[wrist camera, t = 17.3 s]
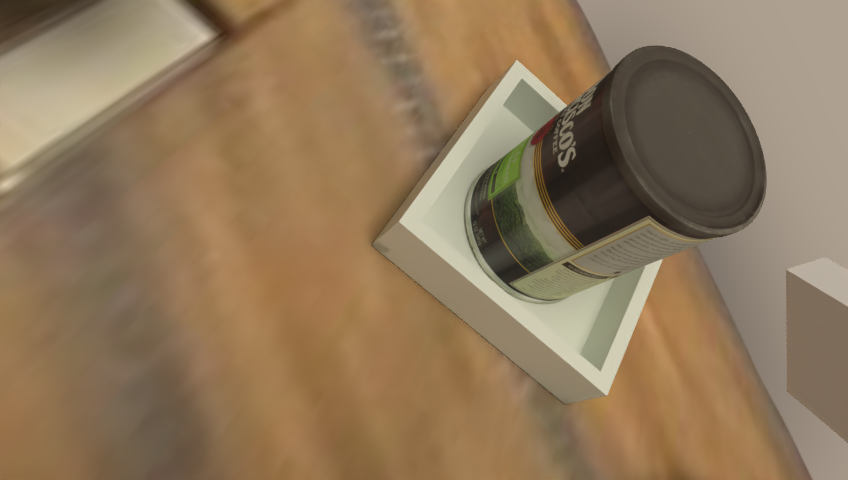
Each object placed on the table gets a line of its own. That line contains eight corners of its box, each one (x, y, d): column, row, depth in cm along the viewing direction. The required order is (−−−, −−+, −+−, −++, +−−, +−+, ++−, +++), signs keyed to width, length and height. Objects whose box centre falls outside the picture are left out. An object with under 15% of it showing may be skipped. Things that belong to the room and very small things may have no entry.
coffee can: (436, 241, 41) (583, 136, 29) (501, 133, 47) (647, 8, 35) (560, 338, 43) (746, 276, 31) (609, 223, 48) (783, 133, 37)
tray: (371, 245, 40) (398, 221, 37) (486, 90, 49) (516, 59, 45) (564, 404, 43) (607, 395, 39) (642, 230, 51) (682, 211, 48)
